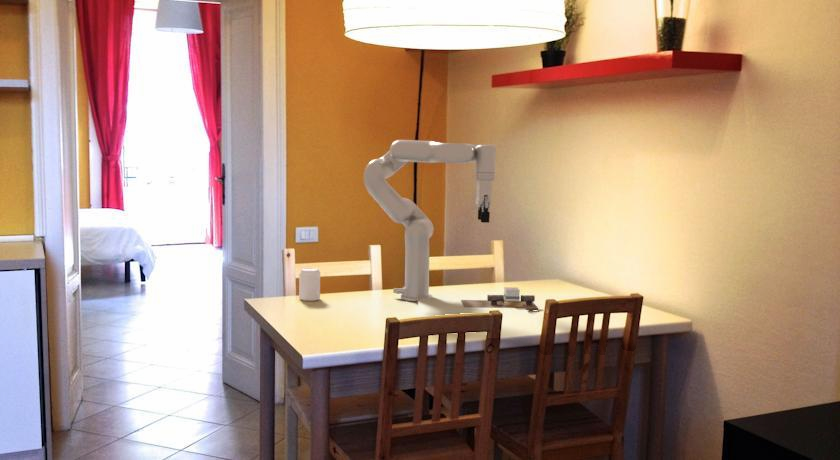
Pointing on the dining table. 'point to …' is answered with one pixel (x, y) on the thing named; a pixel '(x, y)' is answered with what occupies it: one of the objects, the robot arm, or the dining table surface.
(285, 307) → the dining table surface
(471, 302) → the rig
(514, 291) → the coupler
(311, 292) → the beverage can
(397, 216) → the robot arm
